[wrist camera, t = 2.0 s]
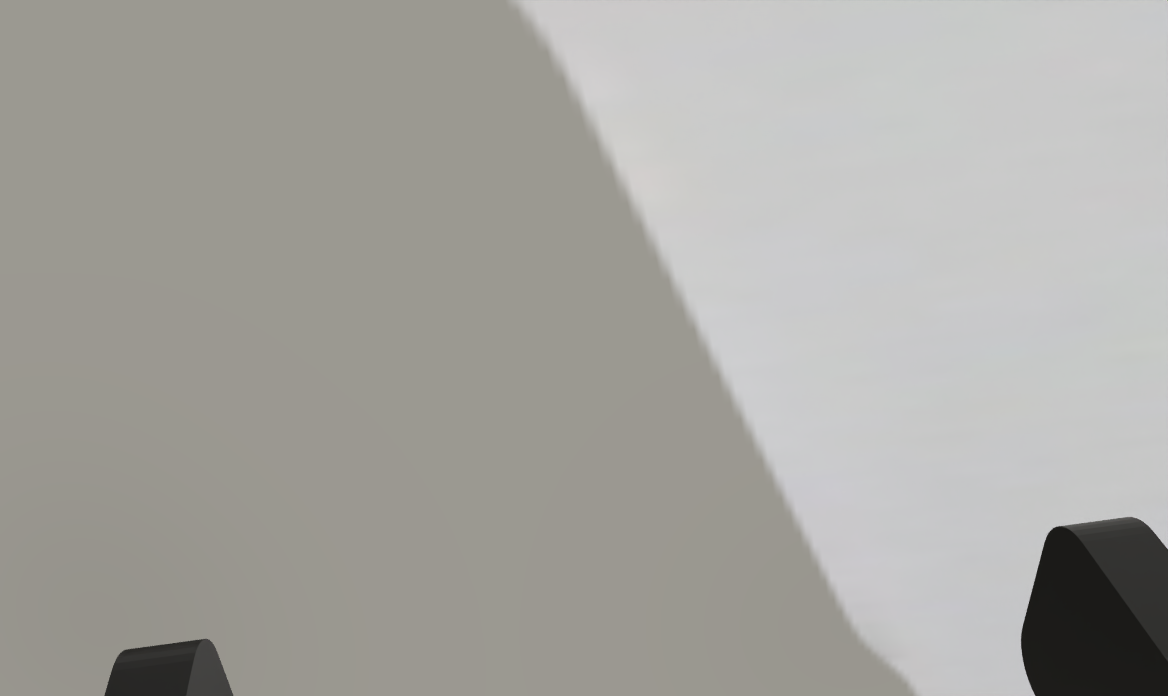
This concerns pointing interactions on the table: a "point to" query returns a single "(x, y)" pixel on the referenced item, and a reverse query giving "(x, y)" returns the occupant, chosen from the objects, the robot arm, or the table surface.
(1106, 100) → the table surface
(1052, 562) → the robot arm
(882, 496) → the table surface
